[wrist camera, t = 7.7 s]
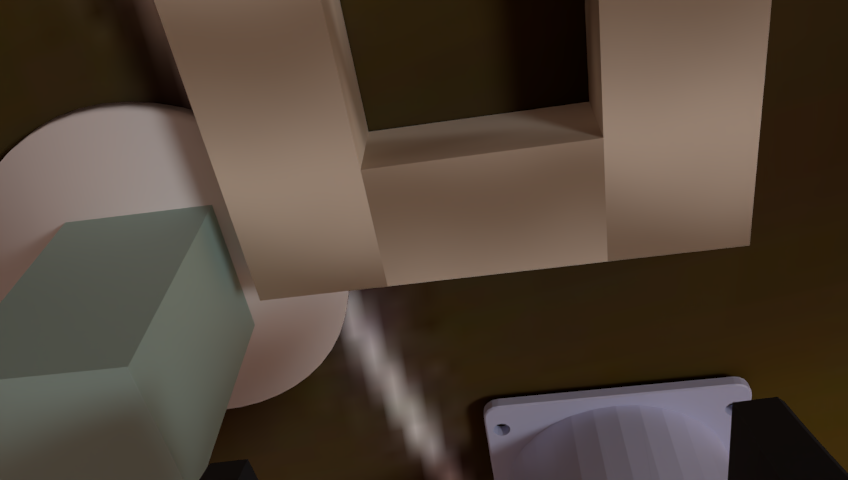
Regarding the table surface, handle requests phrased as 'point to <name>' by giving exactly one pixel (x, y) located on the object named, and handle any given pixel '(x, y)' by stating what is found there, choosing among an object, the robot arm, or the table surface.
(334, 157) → the board
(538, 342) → the table surface
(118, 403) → the block
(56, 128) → the coaster
